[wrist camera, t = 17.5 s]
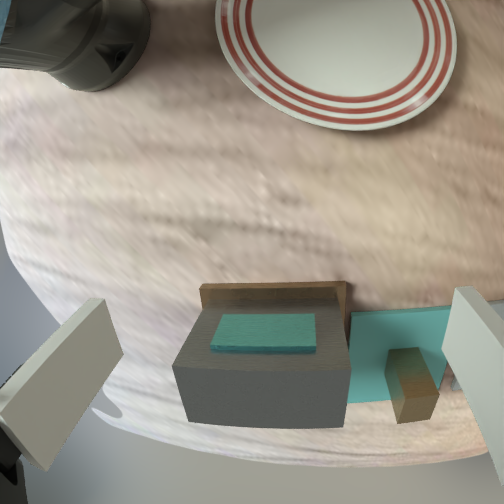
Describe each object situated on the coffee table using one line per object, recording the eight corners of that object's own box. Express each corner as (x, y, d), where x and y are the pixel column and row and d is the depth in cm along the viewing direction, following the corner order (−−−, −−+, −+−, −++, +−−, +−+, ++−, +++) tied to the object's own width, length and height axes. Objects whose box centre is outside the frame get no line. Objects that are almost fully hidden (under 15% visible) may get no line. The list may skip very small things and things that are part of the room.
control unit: (213, 352, 45) (182, 429, 31) (202, 283, 41) (158, 352, 27) (340, 352, 42) (350, 435, 28) (344, 280, 39) (364, 355, 25)
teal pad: (342, 399, 45) (342, 403, 44) (350, 312, 40) (352, 316, 39) (435, 389, 42) (437, 393, 42) (458, 304, 37) (461, 308, 36)
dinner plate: (190, -22, 28) (181, -33, 25) (383, -72, 22) (388, -84, 18) (273, 164, 35) (270, 166, 32) (476, 102, 29) (490, 100, 26)
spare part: (384, 373, 41) (397, 424, 32) (388, 349, 40) (405, 399, 31) (412, 371, 41) (429, 419, 31) (418, 346, 39) (439, 394, 30)
